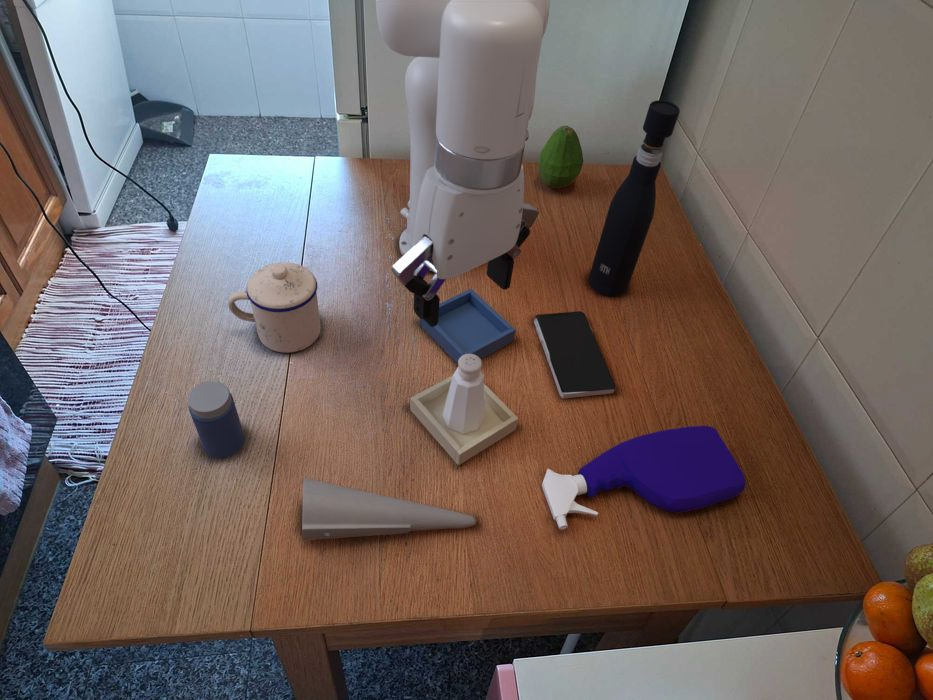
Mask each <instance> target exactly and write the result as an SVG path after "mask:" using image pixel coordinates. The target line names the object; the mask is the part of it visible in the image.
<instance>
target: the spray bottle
mask: <svg viewBox="0 0 933 700" xmlns="http://www.w3.org/2000/svg"><path fill="white" fill-rule="evenodd" d="M746 485H747V482H746V478H745V474H744V472H743V470H742V469H741V467H740V465H739V464H738V462H737V461H736V459H735V457H734V456H733V454H732V452H731V451H730V449H729V448H728V446H727V445H726V443H725V442H724V440H723V438H722V437H721V435H720V434H719V432H718V431H717V429H716V428H715V427H712V426H709V425H708V426H707V425H693V426H683V427H677V428H672V429H671V428H670V429H663V430H659V431H655V432H651V433H646V434H643V435H639V436H635V437H632V438H630V439H628V440H625V441H623V442H621V443H618V444H617V445H615V446H613V447H611V448H609V449H608V450H606V451H604V452H602V453H601V454H600V455H598V456H597V457H595V458H594V459H592V460H591V461H589V462H587V463H586V464H585V465H583V466H582V467H581V468H579V469H578V473H577V474H574V475H572V474H560V473H557V472H555V471H553V470H551V469H550V468H546V472H545V474H544V478H543V481H542V484H541V489H542V491H543V493H544V496H545V500H546V502H547V504H548V507H549V510H550V512H551V515H552V518H553V520H554V521H556V523H557V527H558V529H559V530H565V529H567V528H568V522H567V515H568V514H583V515H591V516H595V517H598V515H599V512H598V511H595V510H594V509H591V508H589V507H586V506H583V505H581V504H578V503H577V502H576V501H575V499H576V497H577V496H580V495H585V496H586V497H589V498H595V497H596V496H597V495H598V494H599V493H600V492H610V491H611V490H612V489H621V488H623V487H627V488H630V489H631V490H632V491H633V492H634V493H635V494H637V495H638V496H640V497H641V498H642V499H643V500H645V501H646V502H648V503H649V504H650V505H652V506H654V507H656V508H658V509H660V510H662V511H665V512H671V513H677V514H679V513H685V512H689V511H694V510H695V511H696V510H700V509H703V508H707V507H710V506H712V505H717V504H719V503H723V502H726V501H728V500H732V499H734V498H736V497H737V496H739V495H740V494H742V493H743V492H744V491H745V489H746Z"/></svg>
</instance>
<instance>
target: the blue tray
mask: <svg viewBox="0 0 933 700" xmlns="http://www.w3.org/2000/svg"><path fill="white" fill-rule="evenodd" d="M419 326H420V327H421V328H422V329H423V330H424V331H425V332H426V333H427V334H428V335H429V336H430V337H431V338H432V339H433V340H434V341H435V342H436V343H437V344H438V345H439V346H440V348H442V350H444V352H446V353H447V355H449V357H451V359H453V361H454V362H456V364H458V361H459V358H460V357H461V356H463V355H465V354H474V355H477V356H478V357H479V358H480V359H481V360H482V359H484V358H486V357H488V356H490V355H491V354H493V353H495V352H497V351H498V350H501V349H502V348H505V347H506V346H508V345H510V344H512V343H513V342H514V341H515V337H516V330H517V329H516V328H515V327H514V326H512V325H511V324H510V323H509V322H508V321H507V320H506V319H505V318H504V317H503V316H502V315H500V313H498V312H497V310H495V309H494V308H493V307H492V306H491V305H489V303H487V302H486V301H485V300H484V299H483V298H482V297H481V296H480V295H479V294H477V292H476V291H474V290H473V289H472V288H469V289H467V290H464V291H462V292H461V293H459V294H456V295H454V296H452V297H450V298H447V299H446V300H444V301H442V302H441V301H440V302H439V316H438V323H437V325H436V326H434V327H431V326H430V325H429V324H428V323H427V322H426V321H425V320H424V319H420V318H419Z"/></svg>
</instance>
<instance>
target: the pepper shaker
mask: <svg viewBox="0 0 933 700" xmlns="http://www.w3.org/2000/svg"><path fill="white" fill-rule="evenodd" d="M187 404H188V412H189V415H190V416H191V419H192V422H193V424H194V427H195V430H196V432H197V434H198V438H199V441H200V442H201V444H202V447H203V450H204V452H205V453H206V454H207V455H208V456H210V457H212V458H216V459H225V458H229V457H232V456H234V455H236V454H237V453H238V452H239V451H240V450H242V448H243V446H244V444H245V439H246V435H245V433H244V430H243V425H242V423H241V420H240V417H239V413H238V410H237V406H236V403H235V400H234V397H233V395H232V393H231V392H230V390H229V388H228V386H227V385H226V384H225V383H223V382H220V381H216V380H207V381H203V382H201V383H199V384H197V385H195V386H194V387H193V388H192V389H191V390H190V391H189V393H188V396H187Z"/></svg>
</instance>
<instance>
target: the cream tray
mask: <svg viewBox="0 0 933 700" xmlns="http://www.w3.org/2000/svg"><path fill="white" fill-rule="evenodd" d="M452 377H453V374H452V375H450V376H447V377H446V378H445V379H442V380H440V381H438V382H437V383H435V384H433V385H432V386H430V387H427V388H426V389H424V390H422V391H420V392H419V393H417V394H415V395H413V396H412V397H410V398H409V399H410V400H409V401H410V403H409V410H410V412H412V414H413V415H414V416H415V417H416V418H417V420H418V421H419V422H420V423H421V424H422V425H423V427H424V428H425V429H426V430H427V431H428V432H429V434H430V435H431V436H432V437H433V438H434V439H435V441H436V442H438V444H439V445H440V446H441V447H442V449H443V450H444V451H445V452H446V453H447V454H448V455H449V457H450V458H451V459H452V460H453V462H454V463H456V465H457V466H461V465H462V464H464V463H465V462H467V461H468V460H470V459H472V458H474V457H475V456H477V455H478V454H479V453H481V452H483V451H484V450H486V449H487V448H489V447H490V446H492V445H493V444H495V443H497V442H498V441H500V440H502V439H503V438H505V437H507V436H508V435H510V434H511V433H513V432H515V431H516V430H517V426H518V422H519V417H518V416H517V415H516V414H515V413H514V412H513V411H512V410H511V409H510V408H509V407H508V406H507V405H506V404H505V403H504V402H503V401H502V400H501V398H499V397H498V396H497V395H496V394H495V393H494V392H493V391H492V389H490V388H489V387H488V385H487V384H486V383H484V419H483V421H482V423H481V425H480V427H479V429H478V430H476V431H472V432H468V433H465V434H461V433H459V432H456V431H454V430H451V429H449V428H448V427H447V425H446V423H445V420H444V418H443V416H442V415H443V411H444V407H445V403H446V399H447V395H448V392H449V388H450V384H451V380H452Z"/></svg>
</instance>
